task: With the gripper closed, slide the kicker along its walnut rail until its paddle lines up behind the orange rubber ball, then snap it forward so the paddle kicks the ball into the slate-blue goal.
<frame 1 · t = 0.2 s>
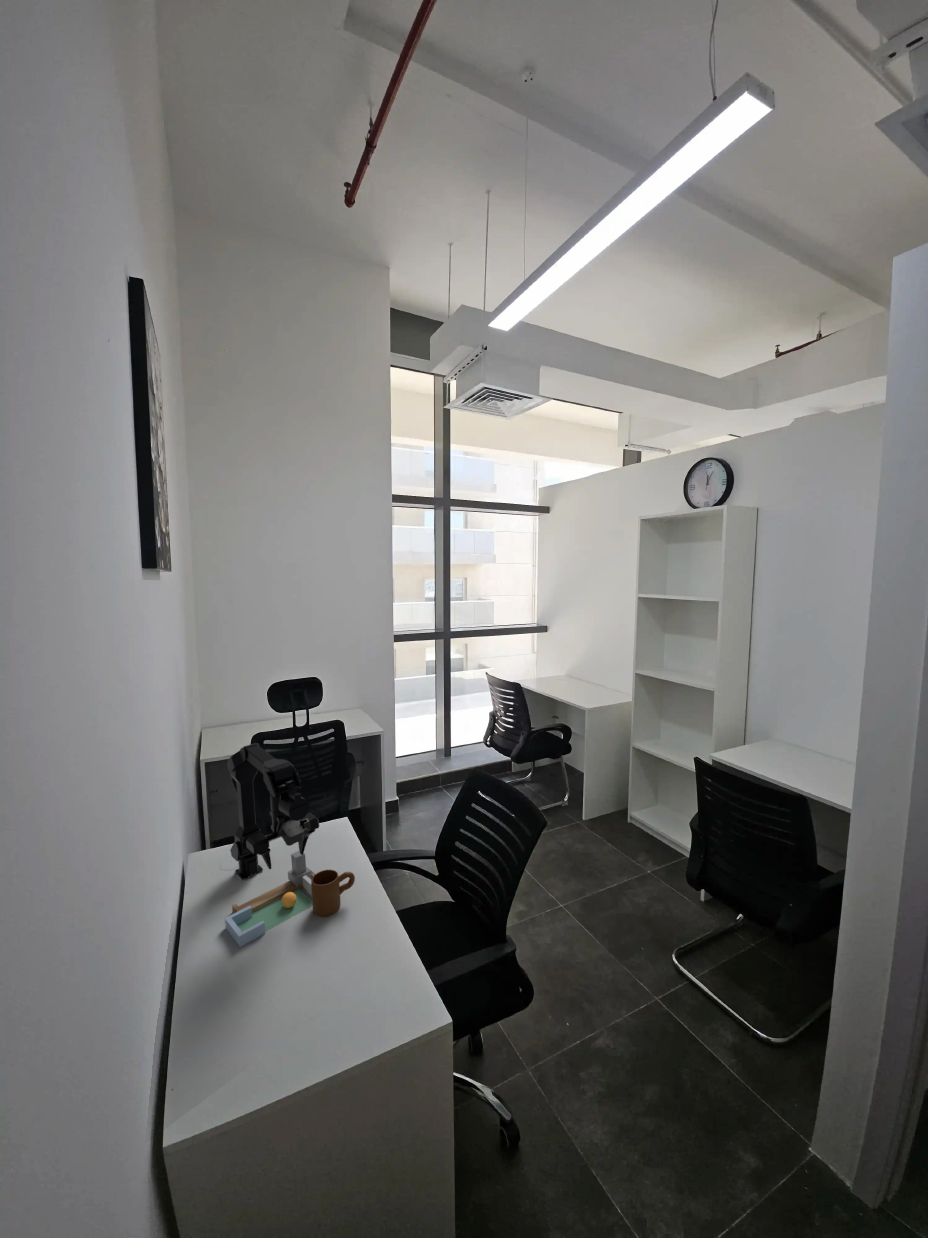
hand: (286, 861, 136), 14 cm above the table, fingers open, 9 cm apart
kicker: (304, 872, 145), point 5 cm above the table, slide at 0.0 cm
rail: (276, 896, 143), on the table
goal: (246, 930, 129), on the table
ball: (289, 906, 138), resting on pitch mat
mug: (335, 907, 138), on the table
pitch mat: (271, 915, 135), on the table
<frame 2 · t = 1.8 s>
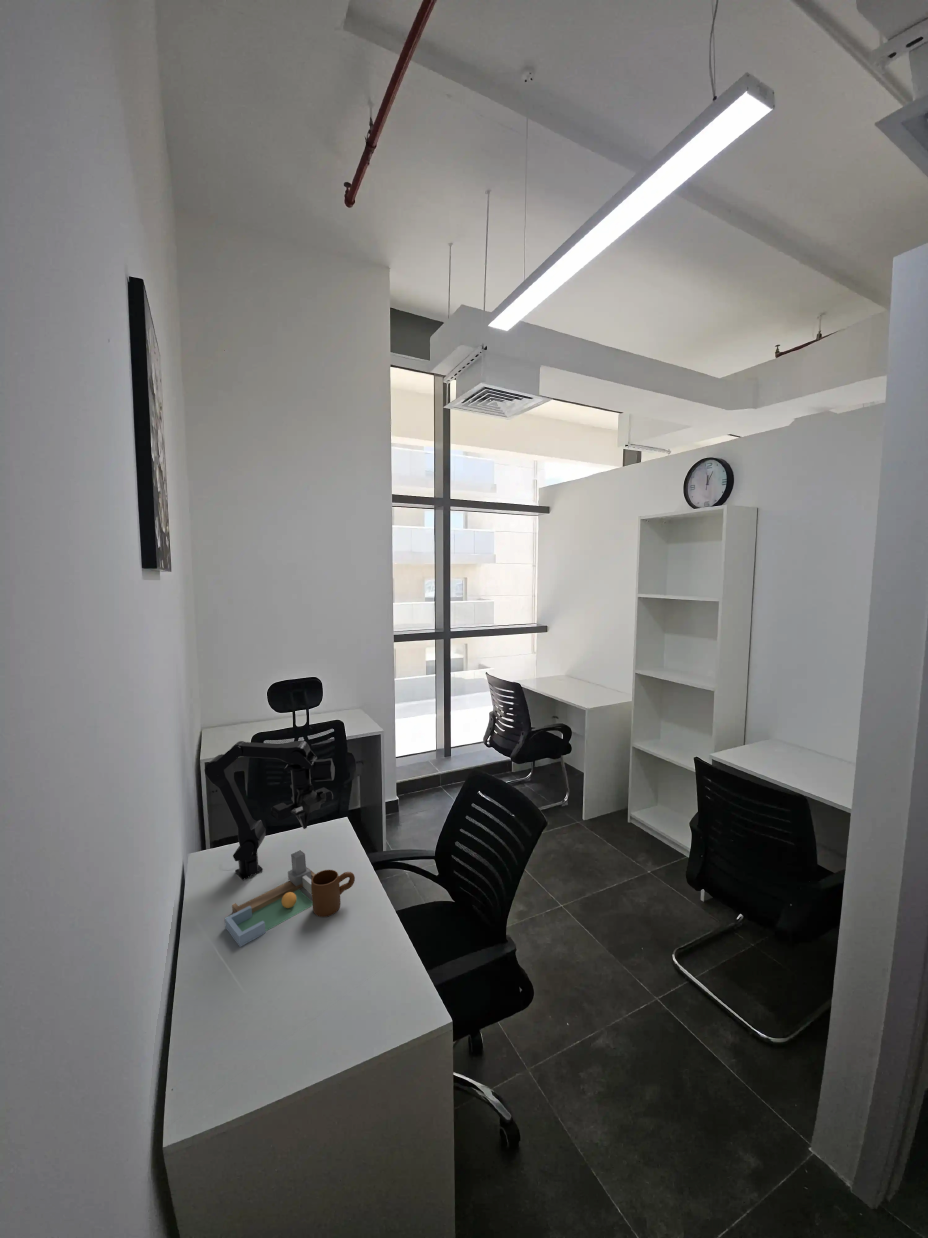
hand: (304, 828, 156), 13 cm above the table, fingers closed
nothing on the table moved.
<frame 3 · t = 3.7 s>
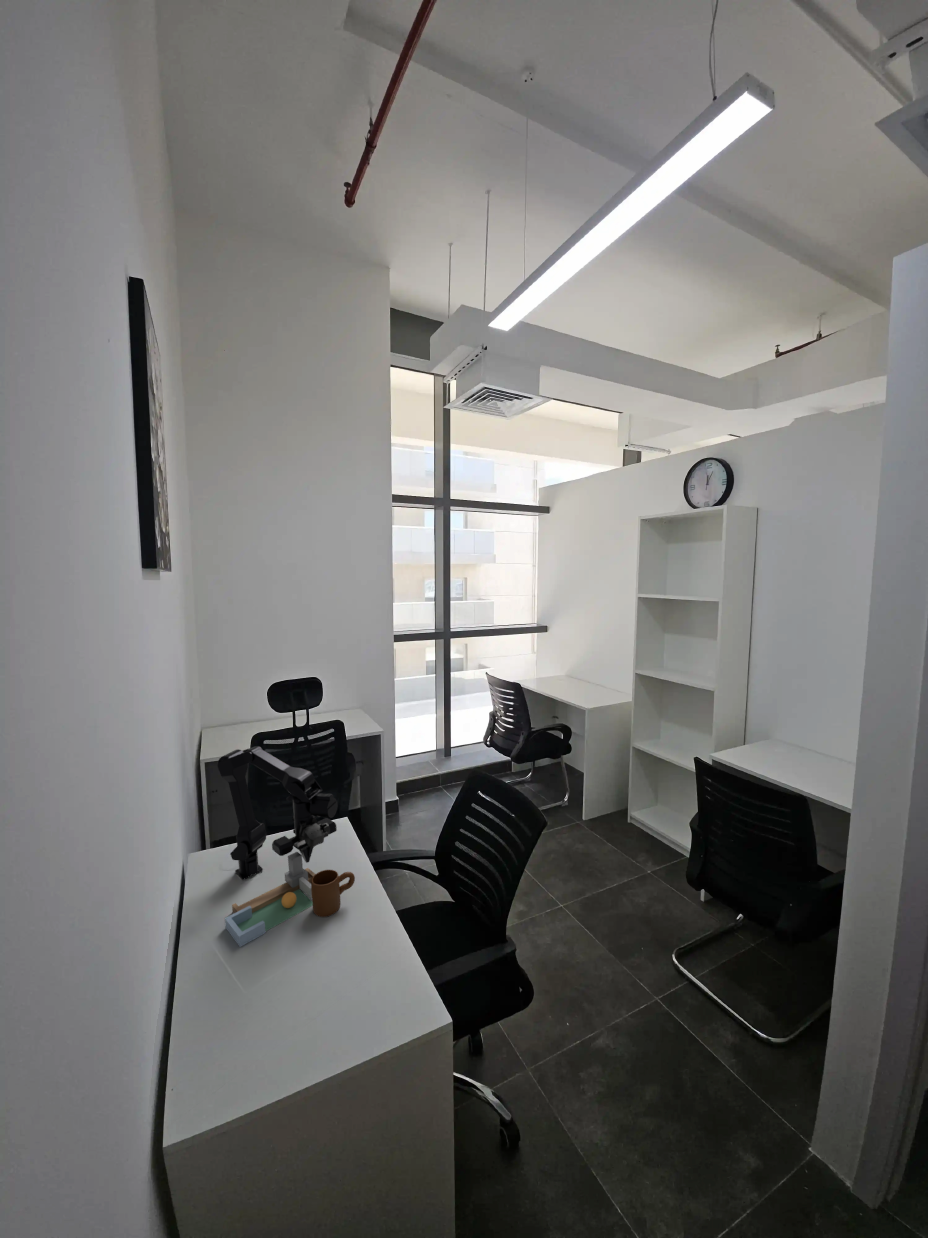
hand: (307, 862, 150), 6 cm above the table, fingers closed
kicker: (301, 874, 144), point 5 cm above the table, slide at 1.0 cm, touching gripper
everything else where it was.
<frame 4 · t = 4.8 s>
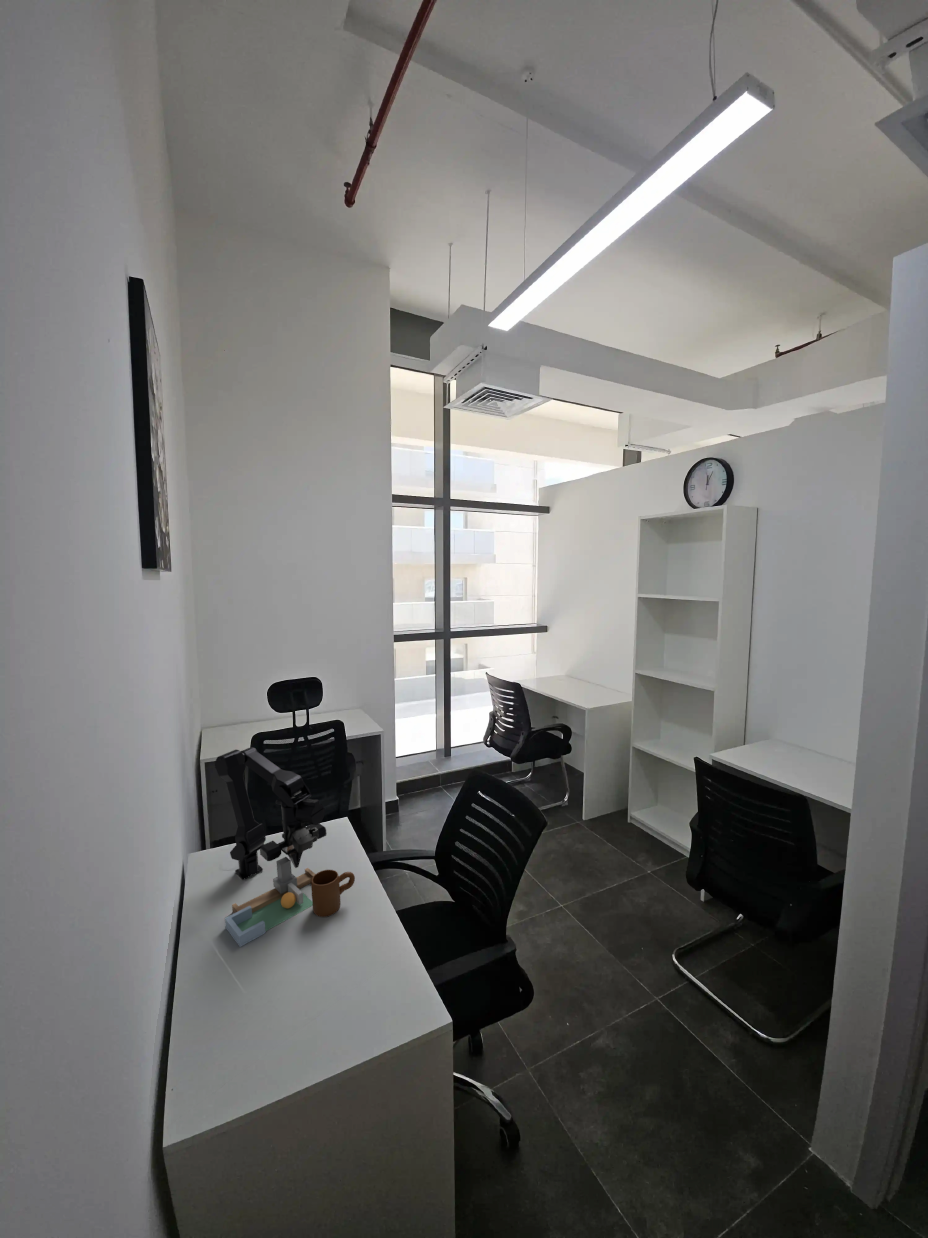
hand: (296, 867, 147), 6 cm above the table, fingers closed
kicker: (290, 880, 142), point 5 cm above the table, slide at 4.6 cm, touching gripper
ball: (289, 906, 138), resting on pitch mat, tilted 5°
everything else where it was.
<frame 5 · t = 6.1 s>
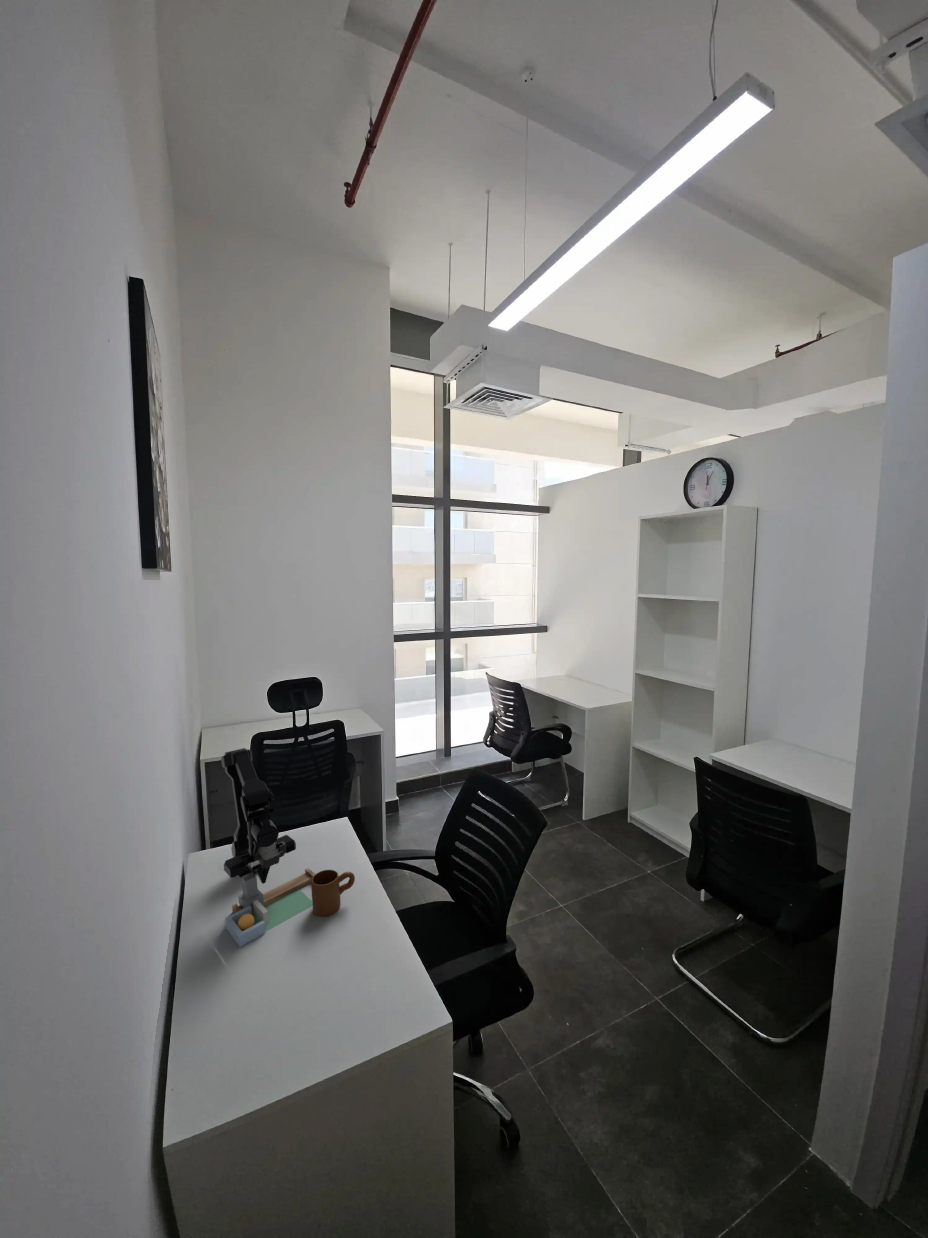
hand: (263, 883, 140), 6 cm above the table, fingers closed
kicker: (255, 897, 135), point 5 cm above the table, slide at 14.7 cm, touching goal, gripper
ball: (244, 930, 129), resting on pitch mat, tilted 20°
everything else where it was.
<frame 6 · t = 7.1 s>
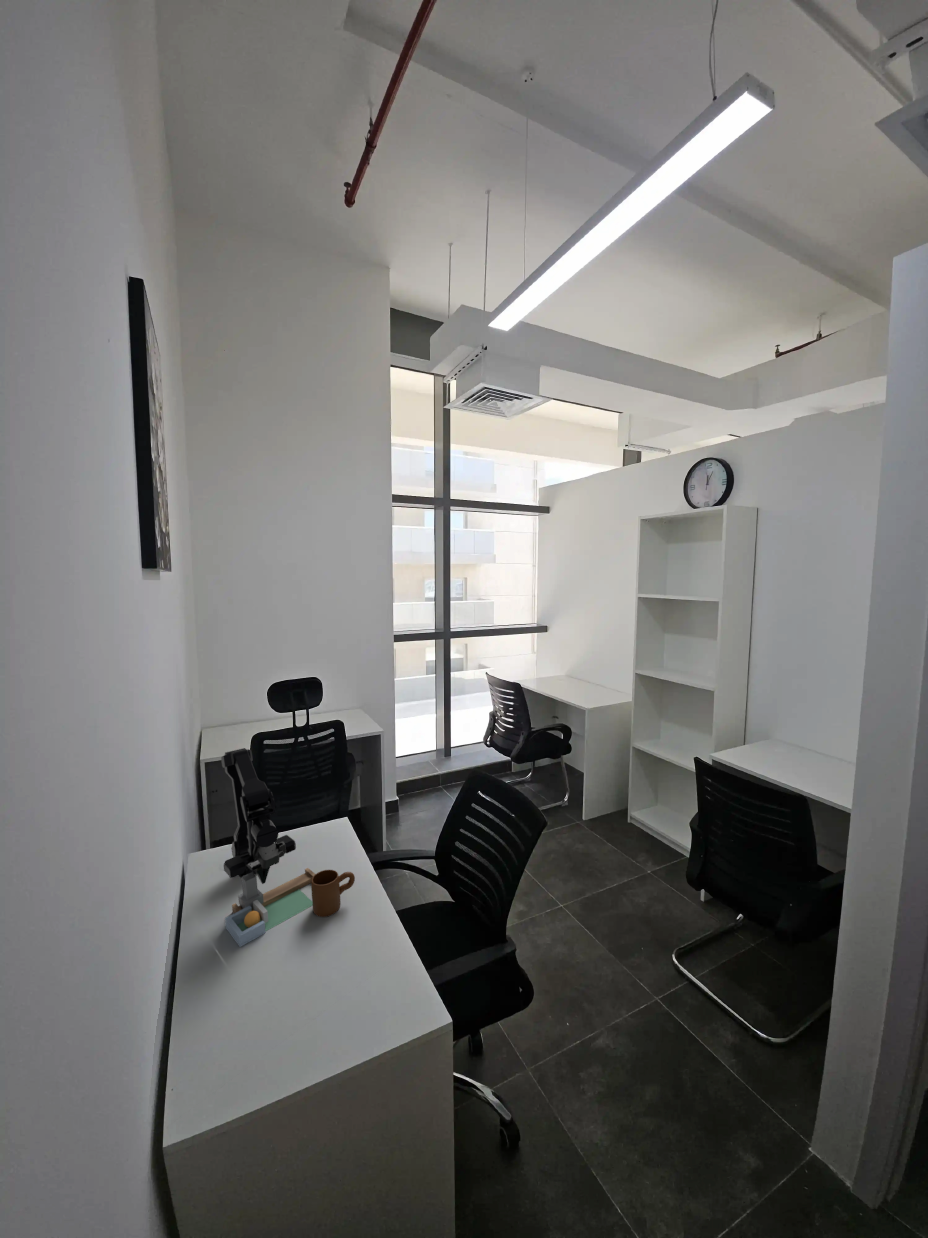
hand: (263, 883, 140), 6 cm above the table, fingers closed
ball: (245, 925, 129), point 1 cm above the table, tilted 67°, touching pitch mat
everything else where it was.
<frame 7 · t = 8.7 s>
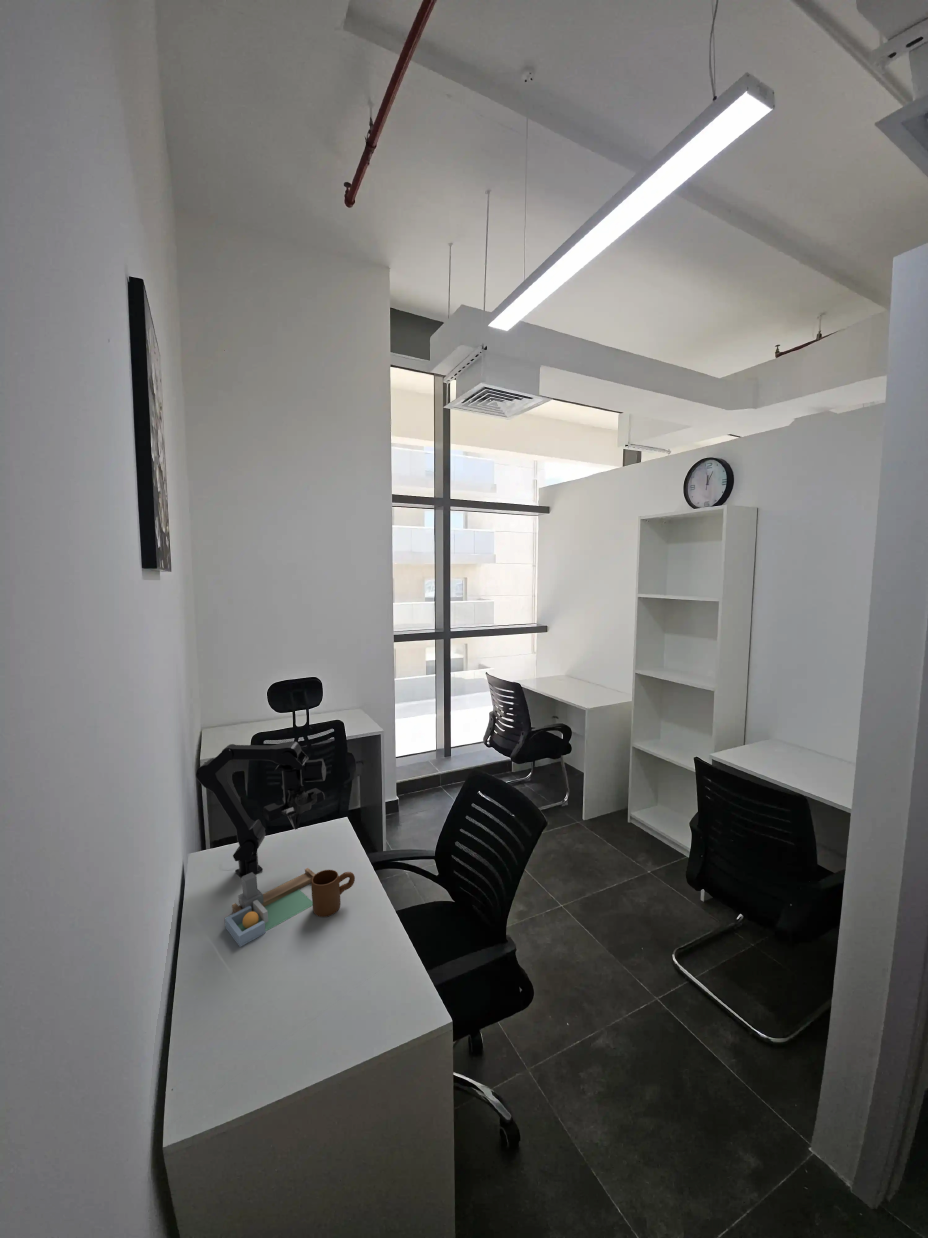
hand: (295, 829, 156), 13 cm above the table, fingers closed
kicker: (255, 897, 135), point 5 cm above the table, slide at 14.7 cm, touching goal
ball: (244, 927, 129), point 1 cm above the table, tilted 54°, touching pitch mat
everything else where it was.
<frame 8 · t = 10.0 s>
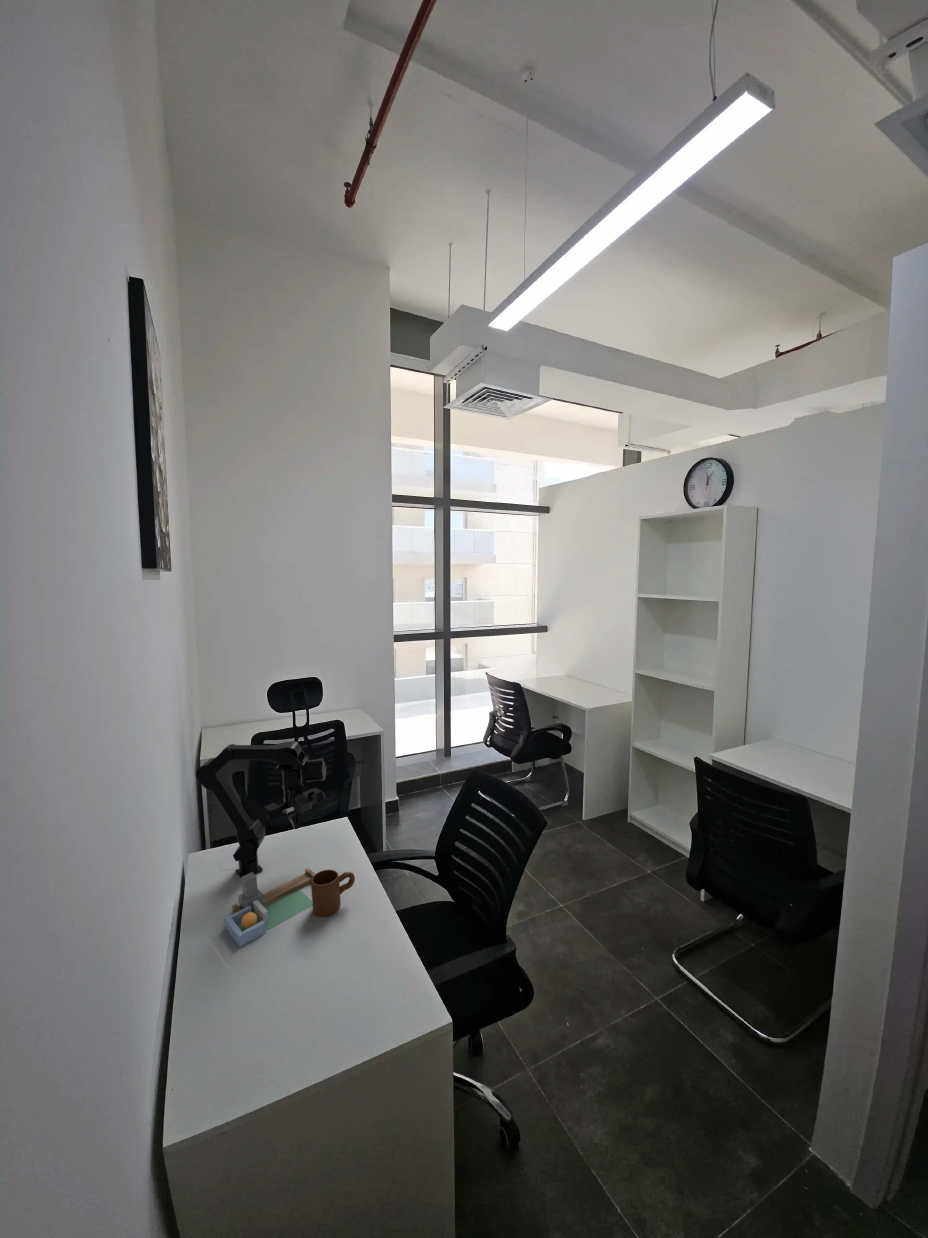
hand: (296, 828, 156), 13 cm above the table, fingers closed
ball: (244, 928, 129), point 1 cm above the table, tilted 44°, touching pitch mat
everything else where it was.
at the end: ball inside the target area (0.8 cm from its centre), point 0.8 cm above the table; kicker slide at 14.7 cm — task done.
